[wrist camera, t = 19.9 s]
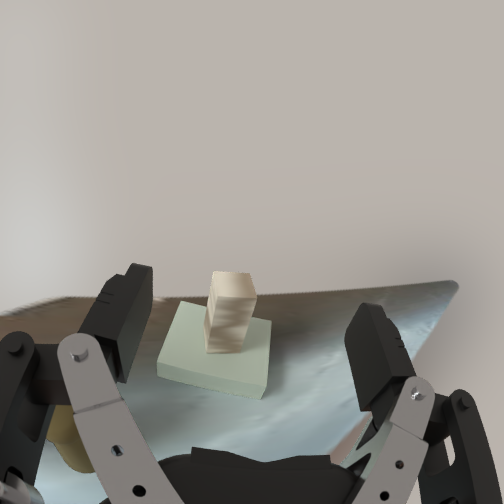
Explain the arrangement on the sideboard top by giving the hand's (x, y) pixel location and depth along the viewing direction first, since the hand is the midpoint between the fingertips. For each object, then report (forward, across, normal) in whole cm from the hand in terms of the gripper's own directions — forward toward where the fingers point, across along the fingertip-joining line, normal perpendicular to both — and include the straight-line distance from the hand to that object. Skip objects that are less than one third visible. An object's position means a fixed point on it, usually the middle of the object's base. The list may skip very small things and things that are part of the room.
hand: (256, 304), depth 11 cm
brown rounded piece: (0, +14, +28) cm, 31 cm away
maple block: (+19, 0, +24) cm, 31 cm away
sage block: (+19, 0, +28) cm, 34 cm away
